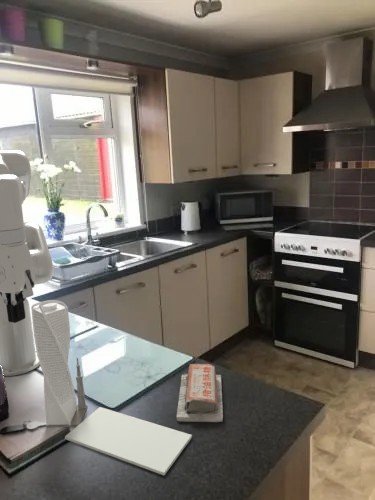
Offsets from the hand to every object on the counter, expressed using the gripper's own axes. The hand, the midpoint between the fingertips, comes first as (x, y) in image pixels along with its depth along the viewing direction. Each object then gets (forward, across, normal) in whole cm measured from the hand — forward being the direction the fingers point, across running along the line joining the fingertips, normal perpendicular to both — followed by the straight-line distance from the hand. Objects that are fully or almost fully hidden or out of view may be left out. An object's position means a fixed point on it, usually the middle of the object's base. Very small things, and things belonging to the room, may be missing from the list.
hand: (17, 320), depth 89 cm
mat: (+21, +27, +1) cm, 34 cm away
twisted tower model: (+22, +10, 0) cm, 24 cm away
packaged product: (+22, +34, +20) cm, 45 cm away
